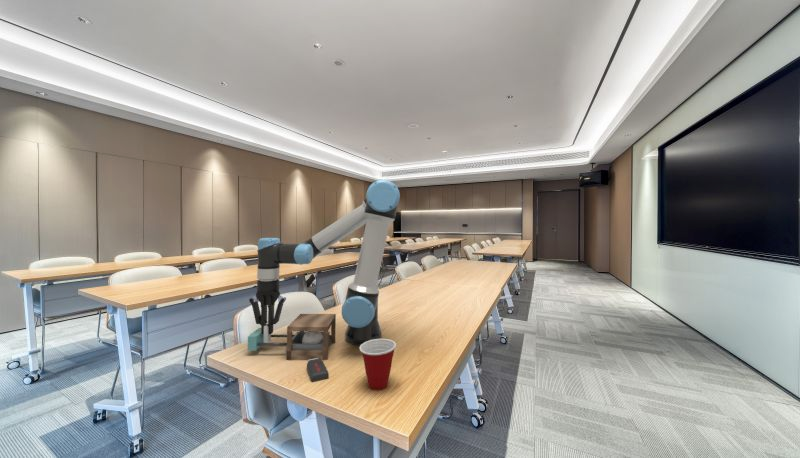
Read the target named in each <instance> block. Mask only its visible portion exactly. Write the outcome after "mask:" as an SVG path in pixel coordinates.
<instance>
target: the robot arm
mask: <svg viewBox="0 0 800 458" xmlns="http://www.w3.org/2000/svg"><path fill="white" fill-rule="evenodd" d="M365 195H366V198H365V199H364V200H362V203H361V205H359V206H358V207H356V208H354V209H353V210H351V211H350V212H348V213H346V214H345V215H343V216H341V217H340V218H338V220H336V221H334V222H333V223H331V224H330V225H328V226H327V227H325V228H324V229H322V230H321V231H319V232H317V233H316V234H314V235H313V236H312V237H310V238H308V239H307V240H305V241H304V242H299V243H281V240H280V238H279V237H261V238H259V239H258V241H257V242H258V243H257V271H256V279H257V281H256V293H255V295H254V296H252V297H251V298H249V303H250V304H251V307H252V311H253V316H254V319H255V324H257V325H260V326H261V327H260V328H261V333H262V334H264V343H271V341H272V340H271V338H272V337H271V335H273V333H274V325H276V324H277V323H278V322H279V321H280V317H281V313H282V310H283V306H284V304H285V302H286V301H287V297H284V296H282V295H281V292H280V279H279V278H280V268H281V267H280V265H281V264H283V265H284V264H286V265H289V264H290V265H301V266H302V265H309V264H311V263H312V261H313V259H315V258H316V257H318V255H319V254H321V253H322V252H324V251H326V250H327V249H329V248H330V247H332V246H333V245H335V244H337V243H338V242H340V241H341V240H343V239H345V238H346V237H347V236H349V235H351V234H353V232H355V231H357V230H358V229H360V228H362V227H363V226H365V228H364V231H363V236H362V242H361V246H360V249H359V250H360V251H359V256H358V260H357V265H356V269H355V273H354V274H355V275H354V279H353V282H351V283H349V284H348V287H347V291H346V295H345V300H344V302H343V304H342V306H341V317H342V319H343V321H344V322H345V323H346V324H347V327H346V331H345V335H344V337H345V338H344V339H345V341H346V342H347V343H349V344H351V345H355V346H361V344H363V343H364V342H367V341H369V340H374V339H382V336H383V335H382V329H381V326H380V323H379V320H378V319H379V318H378V317H379V315H378V314H379V313H378V311H379V309H378V308H379V294H380V290H379V285H378V281H379V275H380V271H381V267H382V261H383V258H384V257H383V256H384V251H385V249H386V248H385V247H386V242H387V239H388V238H387V237H388V232H389V230H390V229H389V228H390V224H391V223H393V222H395V219H396V216H397V213H398V207H399V206H398V205H399V204H400V198H401V193H400V190H399V187H398V186H397V185H396V184H395V183H394V182H392V181H390V180H388V179H378V180H375V181H373V183H371V184H370V185H369V186H368V188H367V191H366V194H365ZM277 301H278V304H277V307H276V309H275V305H276V304H275V303H276V302H277ZM259 304H260V305H259Z"/></svg>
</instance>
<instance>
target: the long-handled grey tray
mask: <svg viewBox="0 0 800 458" xmlns="http://www.w3.org/2000/svg"><path fill="white" fill-rule="evenodd" d="M307 332H308V331H304V332H300V331H296V333H295V334H292V350H323V341H322V342H321V344H302V339H303V337H304V334H305V333H307ZM319 332H320V333H321V334H322V335H323V331H319ZM330 335H331V331H328V346H329V345H330V344H331V343H330ZM271 338H287V334H271ZM262 346H263V347H264V346H265V347H266V346H267V347H271V346H272V347H273V346H274V347H277V346H278V347H280V346H281V347H282V346H283V347H286V349H285V352H286V354H285V357H286V358H287V342H269V343H264V334H262V333H261V327H258V328H257V329H256V330H254V331H253V332H251V334H249V335H248V336H247V351H257V350H258V349H260V348H261V347H262Z"/></svg>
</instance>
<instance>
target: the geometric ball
mask: <svg viewBox="0 0 800 458" xmlns="http://www.w3.org/2000/svg"><path fill="white" fill-rule="evenodd" d="M306 332H307V333H305V334H304V337H303V339H302V344H321V342H322V341H323V335H322V334H321V333H320V332H321V331H306Z"/></svg>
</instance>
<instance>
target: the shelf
mask: <svg viewBox="0 0 800 458" xmlns="http://www.w3.org/2000/svg"><path fill="white" fill-rule="evenodd" d="M336 315H337V314H336V313H300V314H299V315H297V316H296V318H295V319H294V320H293V321H292V322H291V323H290V324H288V326H287V327H286V335H287V337H286V343H287V357H286V361H308V360H310V359H315V358H319V359H321V360H322V361H327V360H329V359H328V358H329V356H328V355H329V345H328V332H329V330H330V343H329V344H335V343H336V325H337V323H336V322H337V321H336ZM308 331H319V332H323V350H292V338H293V337H292V335H293V332H308Z"/></svg>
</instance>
